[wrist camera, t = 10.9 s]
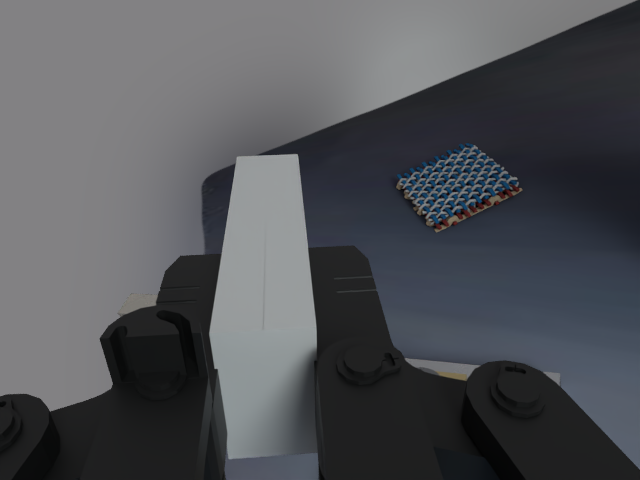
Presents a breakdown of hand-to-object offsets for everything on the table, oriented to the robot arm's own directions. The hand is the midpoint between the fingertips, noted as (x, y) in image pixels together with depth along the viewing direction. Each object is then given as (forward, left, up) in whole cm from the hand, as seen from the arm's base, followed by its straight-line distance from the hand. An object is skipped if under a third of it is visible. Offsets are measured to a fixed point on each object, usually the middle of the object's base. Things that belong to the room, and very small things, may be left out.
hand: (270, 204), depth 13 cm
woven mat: (-36, -5, -30) cm, 47 cm away
